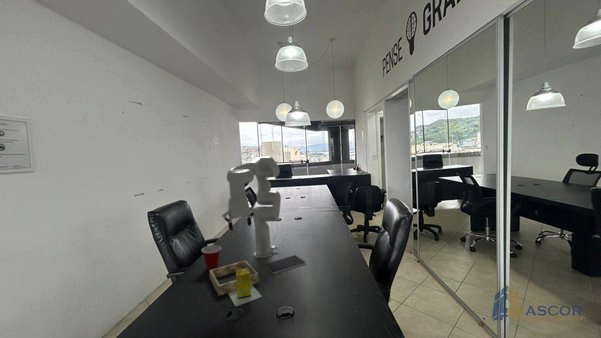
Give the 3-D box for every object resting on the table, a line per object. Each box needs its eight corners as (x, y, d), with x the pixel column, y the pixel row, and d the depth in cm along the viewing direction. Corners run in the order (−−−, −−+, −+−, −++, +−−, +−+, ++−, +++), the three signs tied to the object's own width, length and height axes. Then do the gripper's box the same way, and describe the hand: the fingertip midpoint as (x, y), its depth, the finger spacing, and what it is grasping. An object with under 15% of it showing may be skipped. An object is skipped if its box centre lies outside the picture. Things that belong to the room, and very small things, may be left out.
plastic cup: (216, 273, 136) (214, 252, 135) (198, 272, 138) (197, 251, 137) (225, 264, 146) (224, 245, 146) (209, 263, 149) (208, 244, 148)
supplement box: (237, 292, 114) (235, 269, 114) (250, 290, 116) (248, 267, 115) (237, 299, 109) (236, 275, 108) (251, 296, 110) (249, 273, 110)
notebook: (295, 257, 153) (263, 266, 143) (295, 255, 153) (263, 264, 142) (306, 264, 142) (272, 275, 132) (305, 262, 142) (272, 272, 132)
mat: (252, 285, 120) (252, 285, 120) (261, 297, 110) (261, 296, 110) (228, 293, 114) (228, 293, 114) (235, 306, 104) (235, 305, 104)
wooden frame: (246, 268, 140) (245, 260, 140) (259, 282, 123) (258, 273, 123) (209, 278, 130) (209, 270, 130) (218, 295, 113) (218, 286, 113)
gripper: (251, 192, 133) (253, 222, 134) (218, 197, 124) (221, 229, 125) (256, 193, 127) (258, 225, 128) (223, 199, 117) (225, 233, 119)
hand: (240, 227), depth 127 cm, fingers open, 9 cm apart
